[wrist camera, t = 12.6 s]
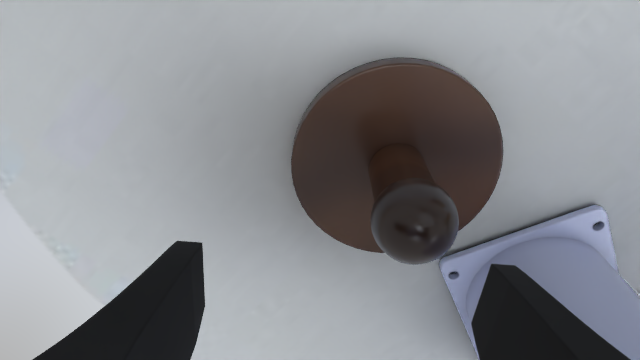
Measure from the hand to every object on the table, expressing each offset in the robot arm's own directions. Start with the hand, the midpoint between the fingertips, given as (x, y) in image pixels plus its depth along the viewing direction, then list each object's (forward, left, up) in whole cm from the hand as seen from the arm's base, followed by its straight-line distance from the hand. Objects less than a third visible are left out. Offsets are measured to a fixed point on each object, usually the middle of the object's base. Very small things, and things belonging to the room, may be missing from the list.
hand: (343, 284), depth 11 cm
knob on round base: (-2, -2, -9) cm, 10 cm away
